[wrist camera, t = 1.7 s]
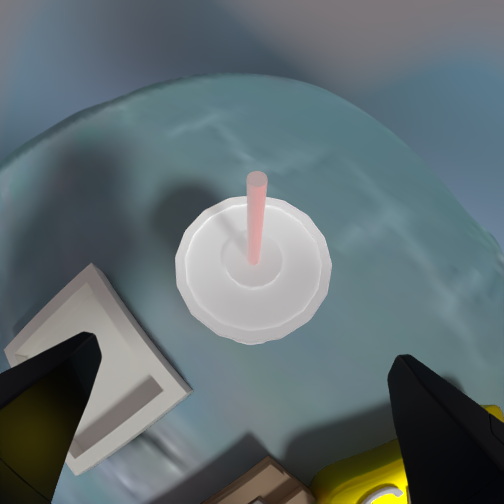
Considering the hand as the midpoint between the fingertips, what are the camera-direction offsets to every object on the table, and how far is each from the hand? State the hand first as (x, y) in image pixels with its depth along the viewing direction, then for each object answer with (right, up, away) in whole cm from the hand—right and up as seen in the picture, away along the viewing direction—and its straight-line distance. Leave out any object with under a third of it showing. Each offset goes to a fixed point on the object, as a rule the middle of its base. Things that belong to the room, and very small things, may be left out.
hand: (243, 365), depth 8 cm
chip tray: (-11, -6, +10) cm, 16 cm away
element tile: (+13, -17, +6) cm, 22 cm away
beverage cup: (0, -1, +12) cm, 12 cm away
